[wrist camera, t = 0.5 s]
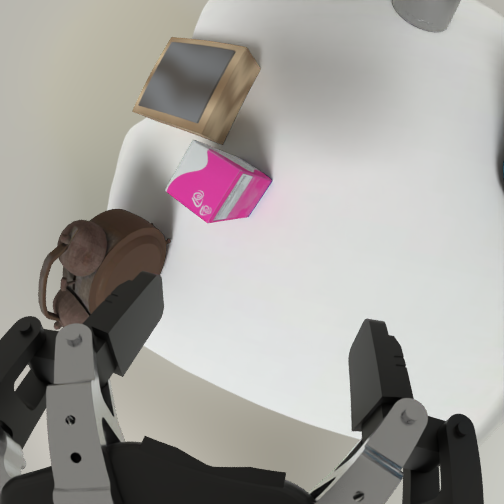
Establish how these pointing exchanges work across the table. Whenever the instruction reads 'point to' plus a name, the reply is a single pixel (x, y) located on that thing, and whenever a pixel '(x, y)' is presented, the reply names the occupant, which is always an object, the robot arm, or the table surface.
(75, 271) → the alarm clock
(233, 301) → the table surface
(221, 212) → the supplement box
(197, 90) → the pedestal
